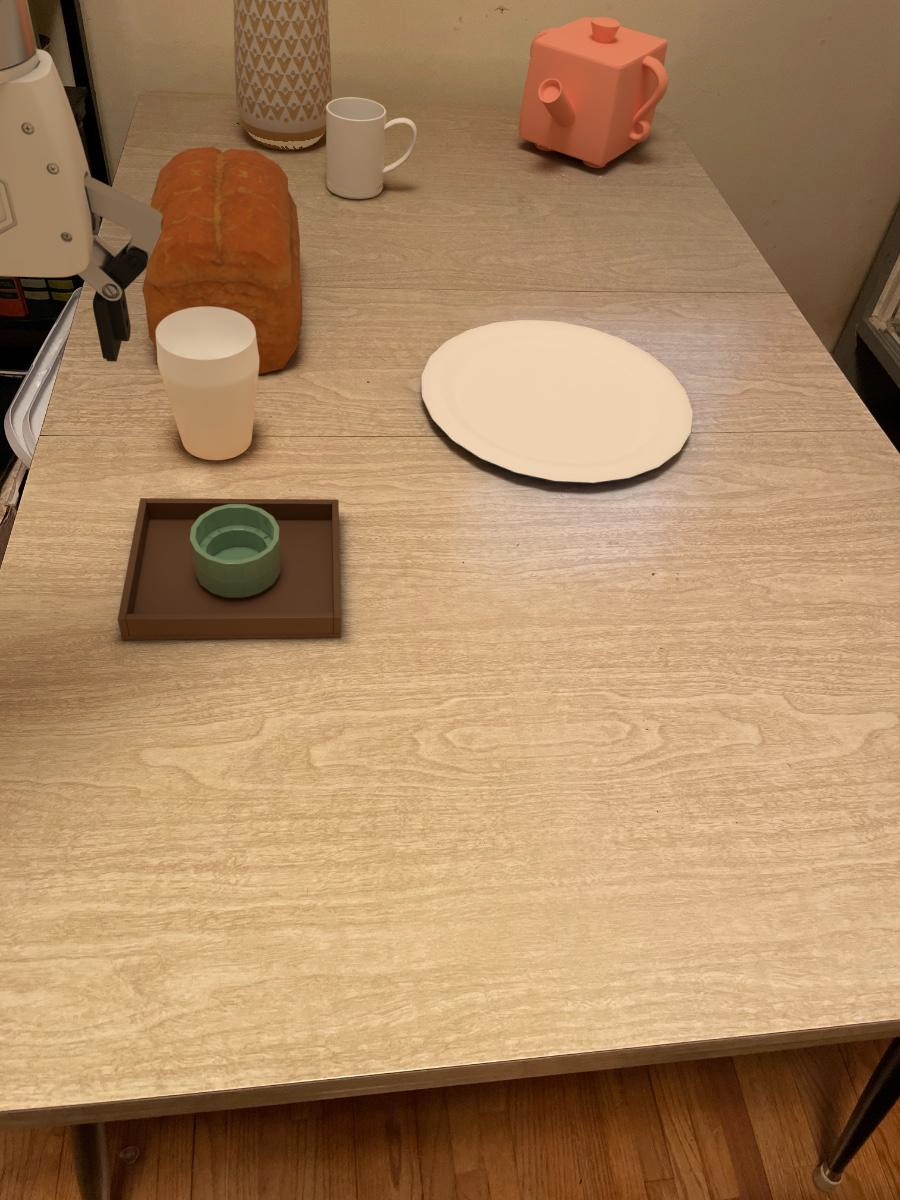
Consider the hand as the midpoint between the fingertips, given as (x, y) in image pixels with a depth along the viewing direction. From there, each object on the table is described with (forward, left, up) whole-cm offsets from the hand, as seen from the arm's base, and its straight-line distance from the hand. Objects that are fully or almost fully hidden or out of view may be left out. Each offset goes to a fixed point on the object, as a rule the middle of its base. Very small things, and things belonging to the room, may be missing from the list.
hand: (30, 346), depth 57 cm
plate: (+42, +32, -26) cm, 59 cm away
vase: (+12, +98, -26) cm, 102 cm away
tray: (+10, +7, -26) cm, 29 cm away
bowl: (+10, +7, -26) cm, 28 cm away
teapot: (+56, +98, -26) cm, 116 cm away
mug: (+24, +82, -26) cm, 89 cm away
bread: (+7, +49, -26) cm, 56 cm away
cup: (+7, +25, -26) cm, 37 cm away
